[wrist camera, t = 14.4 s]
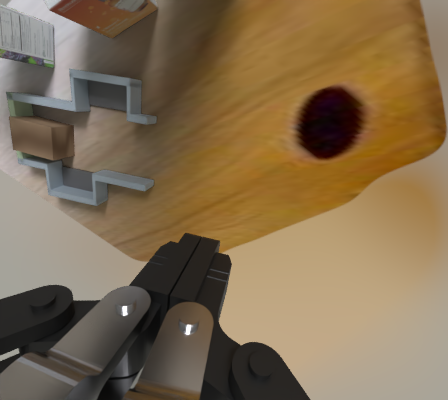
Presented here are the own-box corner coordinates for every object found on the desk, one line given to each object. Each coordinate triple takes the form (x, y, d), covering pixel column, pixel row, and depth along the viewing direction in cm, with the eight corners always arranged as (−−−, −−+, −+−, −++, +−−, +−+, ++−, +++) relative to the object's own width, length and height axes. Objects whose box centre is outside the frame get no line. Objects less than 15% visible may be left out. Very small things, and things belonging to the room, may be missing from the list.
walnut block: (36, 115, 40) (9, 116, 36) (74, 125, 40) (51, 127, 35) (38, 145, 42) (13, 149, 38) (75, 155, 41) (53, 160, 37)
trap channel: (20, 61, 37) (0, 57, 35) (158, 83, 35) (147, 81, 32) (38, 184, 45) (23, 188, 42) (152, 210, 42) (144, 217, 39)
